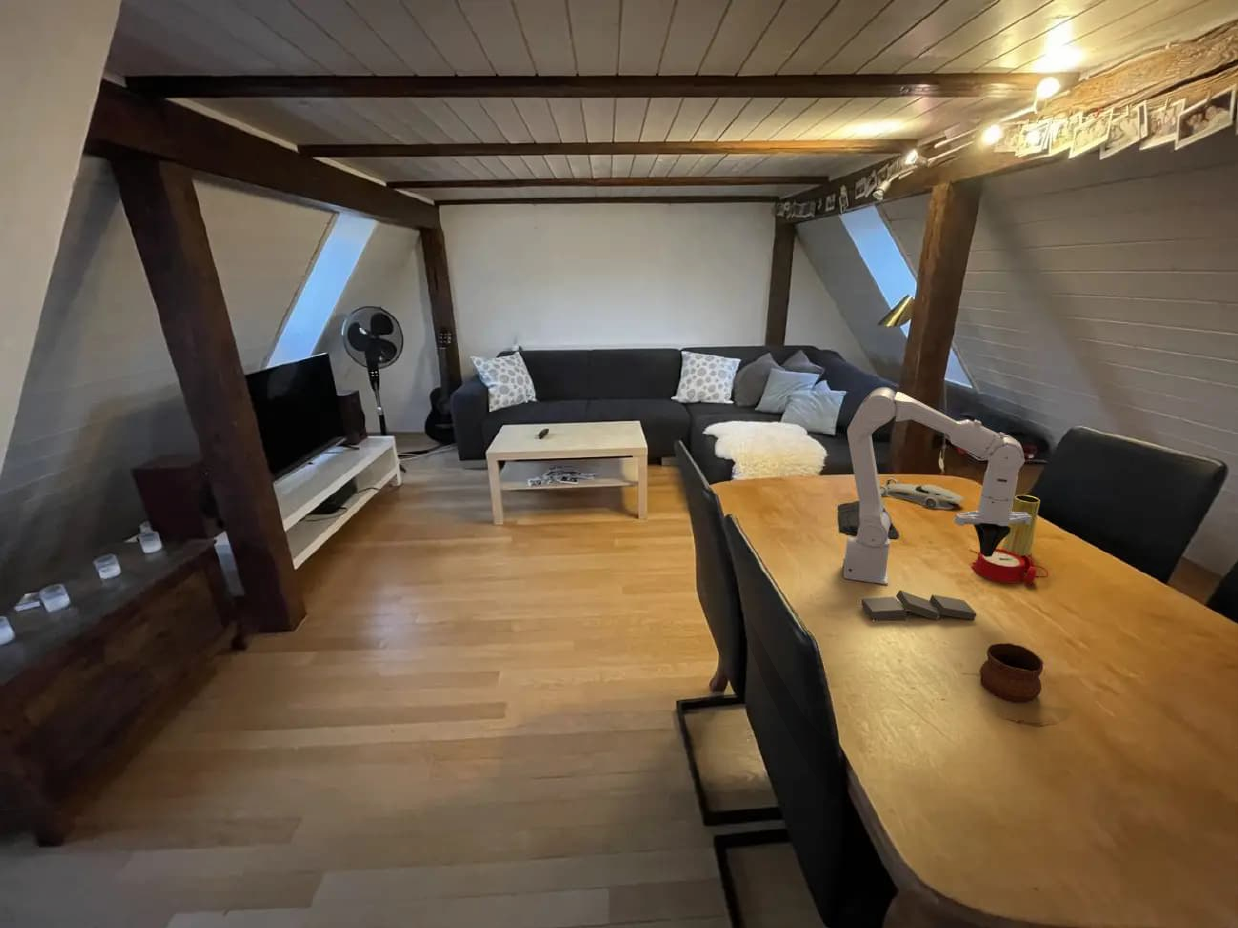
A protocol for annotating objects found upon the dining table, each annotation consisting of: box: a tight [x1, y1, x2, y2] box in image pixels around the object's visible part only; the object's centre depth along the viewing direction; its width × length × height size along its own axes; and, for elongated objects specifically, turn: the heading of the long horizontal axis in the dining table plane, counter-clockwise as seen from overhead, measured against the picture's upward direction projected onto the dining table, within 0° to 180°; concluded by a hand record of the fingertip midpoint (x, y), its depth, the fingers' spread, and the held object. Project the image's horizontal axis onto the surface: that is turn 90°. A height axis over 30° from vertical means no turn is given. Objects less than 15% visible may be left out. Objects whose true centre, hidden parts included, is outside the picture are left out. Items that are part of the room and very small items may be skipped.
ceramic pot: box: [979, 642, 1057, 727], centre depth 98 cm, size 18×18×7 cm
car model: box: [879, 477, 965, 511], centre depth 178 cm, size 11×24×5 cm, turn 45°
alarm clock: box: [969, 548, 1049, 586], centre depth 134 cm, size 10×6×15 cm
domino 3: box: [929, 594, 978, 621], centre depth 120 cm, size 2×5×7 cm
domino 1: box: [860, 596, 907, 618], centre depth 120 cm, size 2×5×7 cm
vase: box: [1001, 494, 1041, 557], centre depth 143 cm, size 6×6×14 cm
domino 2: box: [895, 589, 941, 621], centre depth 120 cm, size 2×5×7 cm
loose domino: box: [862, 607, 907, 622], centre depth 121 cm, size 2×5×7 cm
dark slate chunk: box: [836, 500, 900, 540], centre depth 163 cm, size 15×22×5 cm
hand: (985, 554), depth 122 cm, fingers closed
